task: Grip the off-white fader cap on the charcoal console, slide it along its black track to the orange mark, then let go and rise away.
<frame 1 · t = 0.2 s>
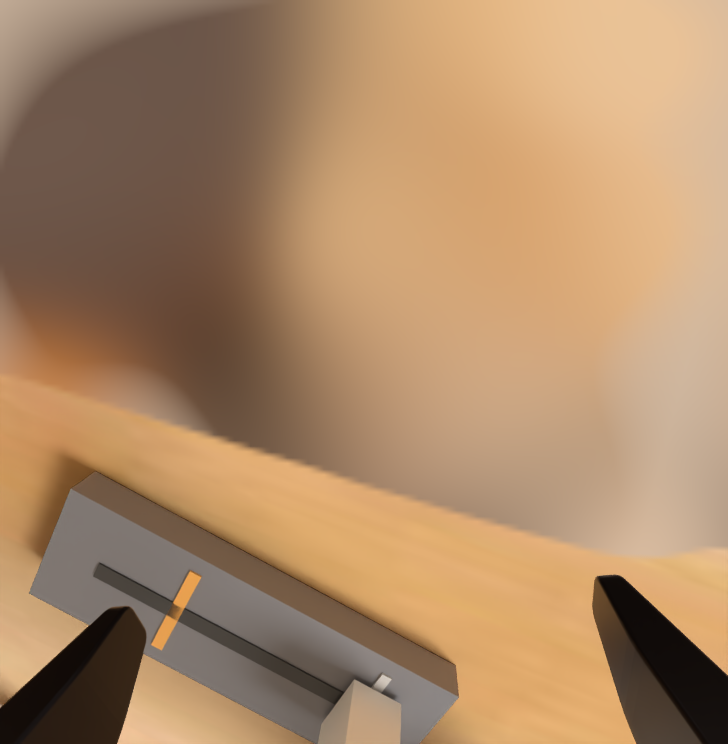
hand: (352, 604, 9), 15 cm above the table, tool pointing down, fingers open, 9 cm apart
console: (250, 616, 28), on the table
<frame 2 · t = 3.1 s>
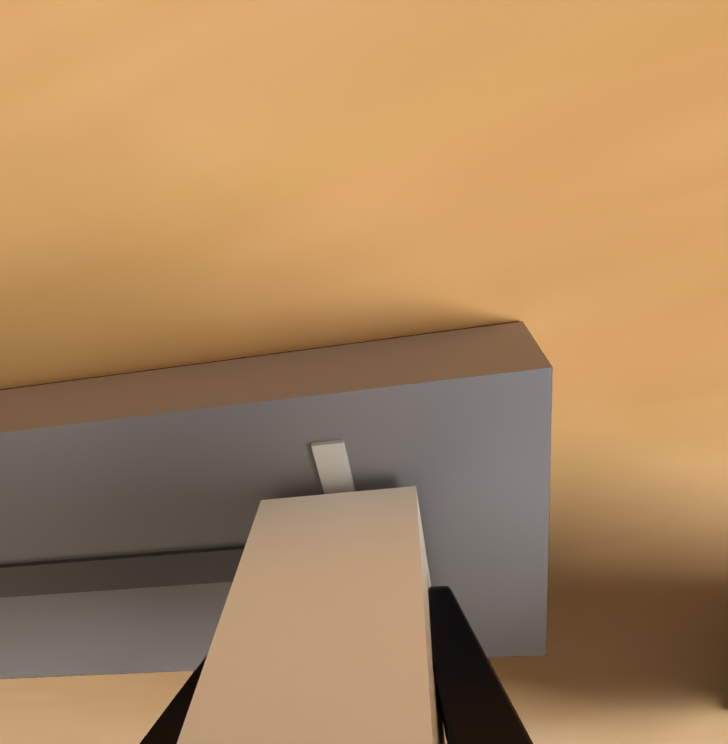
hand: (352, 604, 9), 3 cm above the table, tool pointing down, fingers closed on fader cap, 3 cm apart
fader cap: (344, 694, 8), point 5 cm above the table, slide at 0.0 cm, touching gripper
console: (74, 515, 13), on the table
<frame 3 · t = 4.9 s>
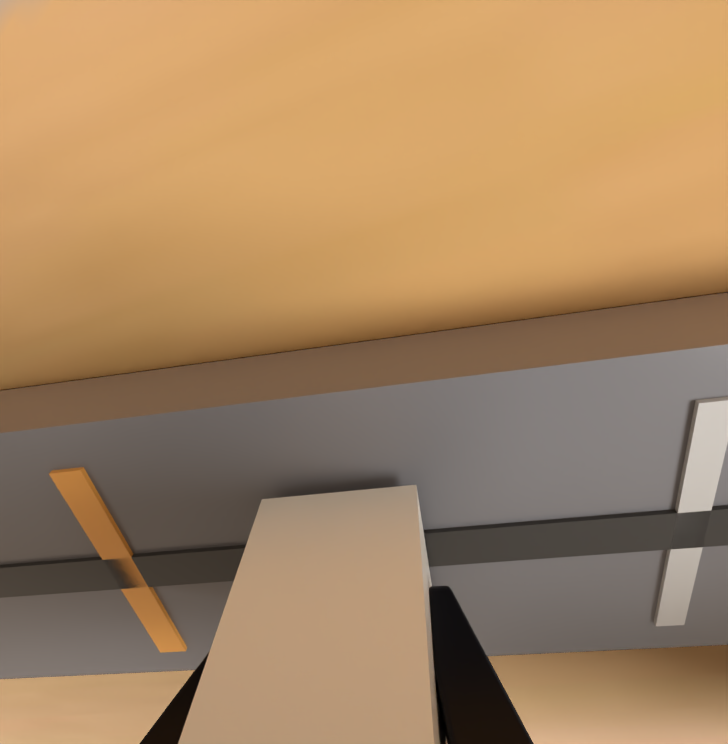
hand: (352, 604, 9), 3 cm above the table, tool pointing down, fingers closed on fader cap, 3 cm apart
fader cap: (345, 692, 8), point 5 cm above the table, slide at 6.7 cm, touching gripper
console: (310, 492, 12), on the table
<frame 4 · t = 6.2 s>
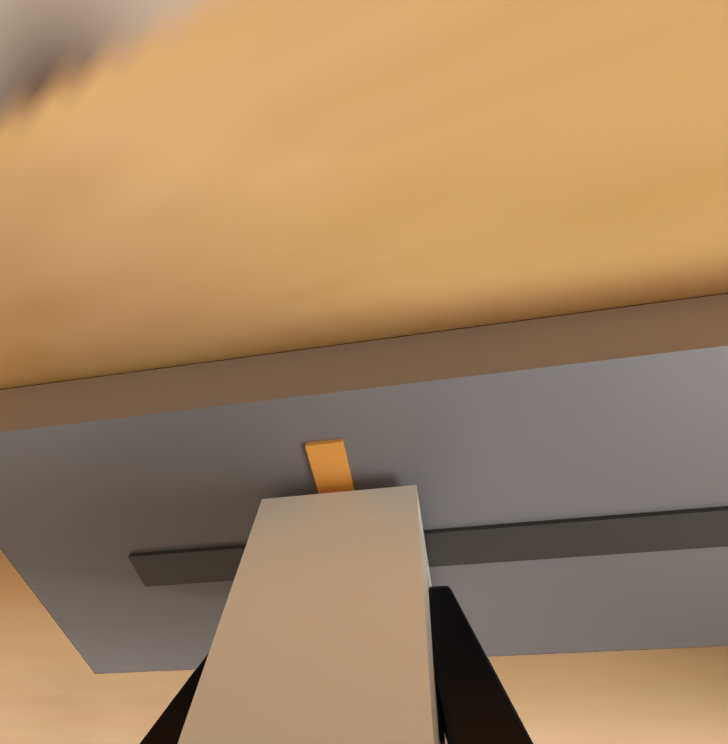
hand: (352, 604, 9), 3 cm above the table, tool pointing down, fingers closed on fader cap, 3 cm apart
fader cap: (345, 692, 8), point 5 cm above the table, slide at 11.9 cm, touching gripper
console: (520, 473, 11), on the table
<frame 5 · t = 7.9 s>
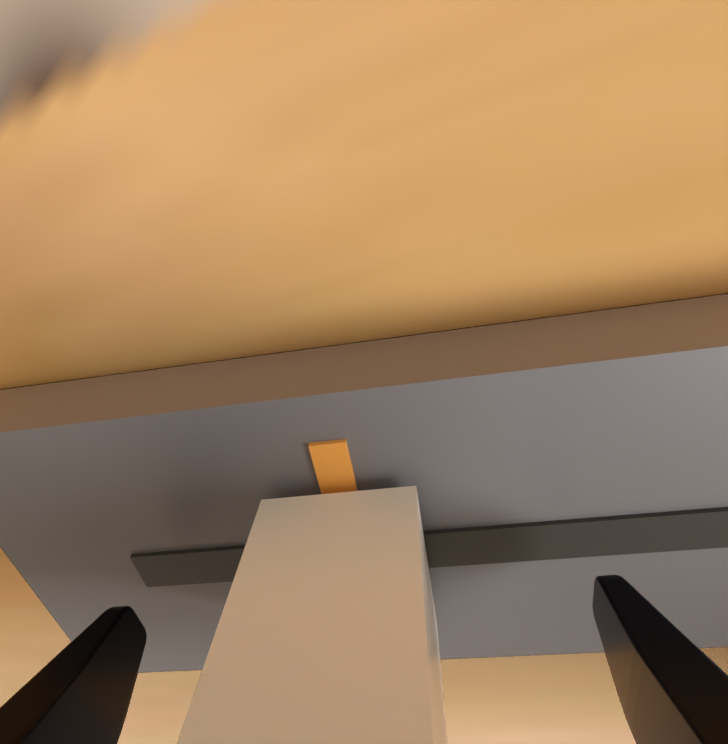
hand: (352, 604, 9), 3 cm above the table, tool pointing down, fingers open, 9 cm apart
fader cap: (344, 694, 8), point 5 cm above the table, slide at 12.0 cm
console: (523, 473, 11), on the table
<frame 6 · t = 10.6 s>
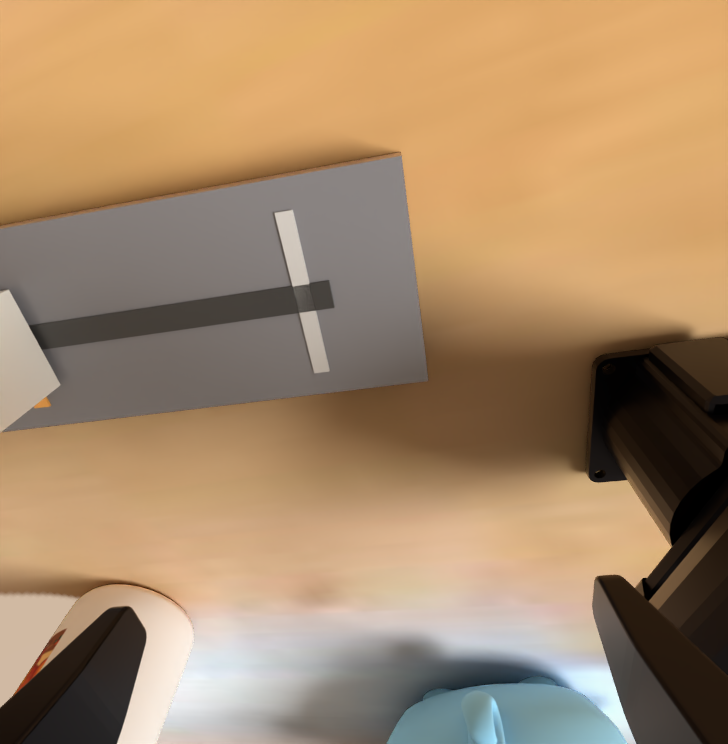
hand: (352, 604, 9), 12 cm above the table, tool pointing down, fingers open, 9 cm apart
milk bottle: (139, 617, 30), on the table
decorative pot: (496, 714, 33), on the table
console: (126, 309, 19), on the table
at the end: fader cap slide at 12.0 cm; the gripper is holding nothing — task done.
